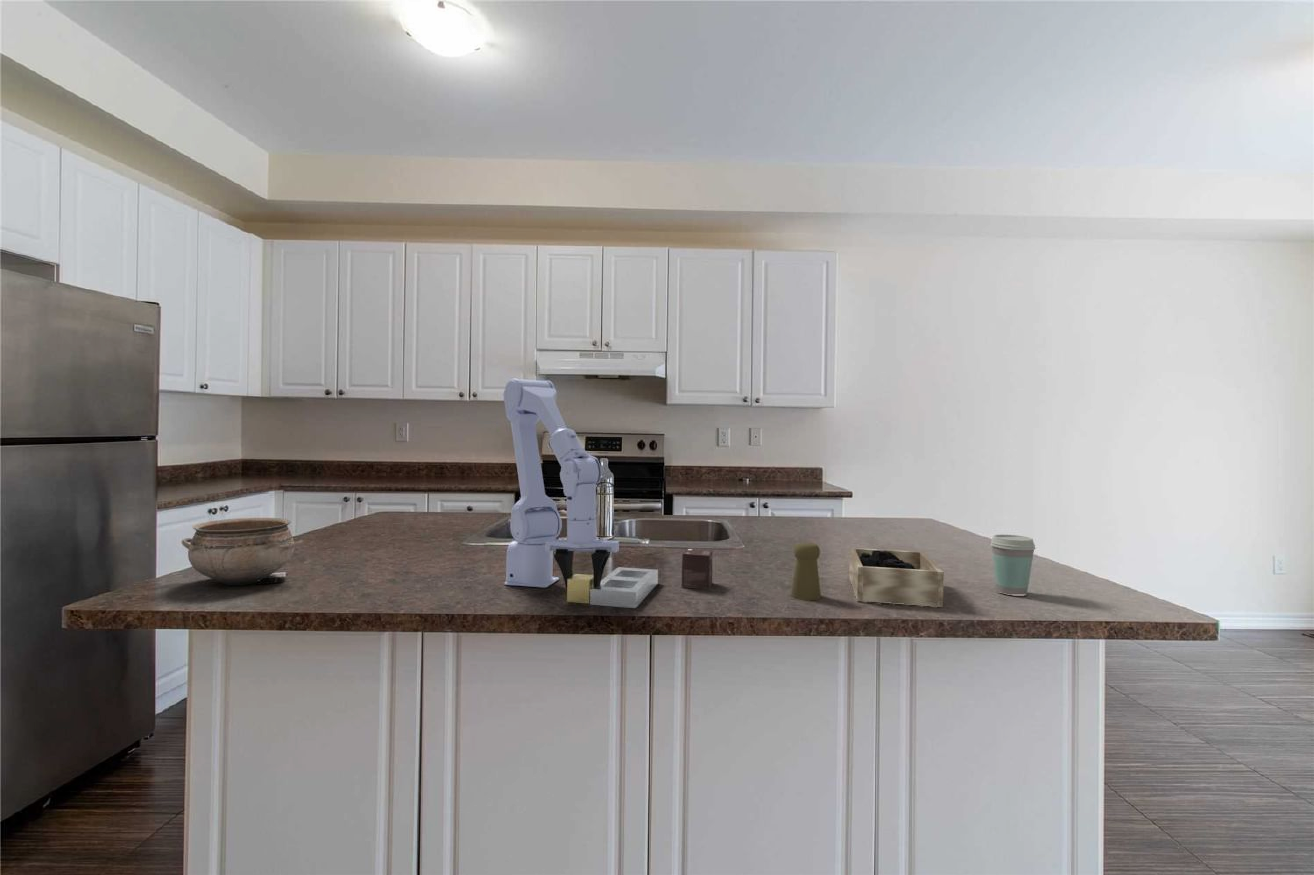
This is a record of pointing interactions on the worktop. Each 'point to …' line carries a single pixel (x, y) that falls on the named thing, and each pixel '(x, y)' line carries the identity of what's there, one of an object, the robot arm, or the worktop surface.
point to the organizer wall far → (897, 555)
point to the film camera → (883, 560)
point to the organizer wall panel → (856, 574)
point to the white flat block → (624, 587)
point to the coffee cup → (1012, 562)
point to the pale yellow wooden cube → (579, 588)
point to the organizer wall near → (900, 585)
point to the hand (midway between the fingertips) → (582, 588)
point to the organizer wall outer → (930, 565)
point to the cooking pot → (240, 548)
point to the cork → (806, 572)
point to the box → (697, 568)
